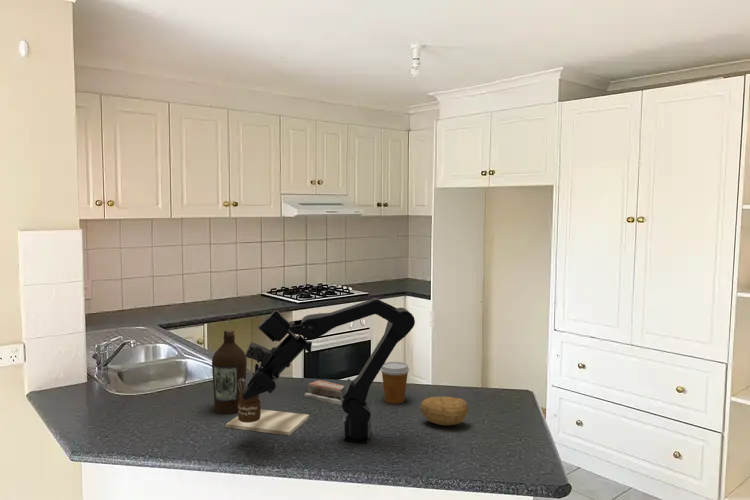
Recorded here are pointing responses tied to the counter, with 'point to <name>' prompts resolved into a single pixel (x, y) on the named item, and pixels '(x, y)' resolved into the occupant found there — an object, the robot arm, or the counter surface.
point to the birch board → (272, 422)
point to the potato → (444, 410)
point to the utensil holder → (248, 408)
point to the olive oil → (228, 374)
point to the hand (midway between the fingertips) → (244, 395)
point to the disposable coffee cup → (394, 381)
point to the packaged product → (324, 392)
